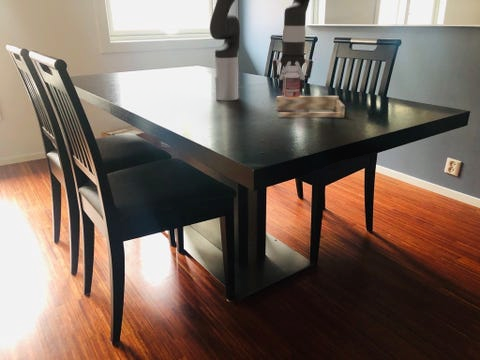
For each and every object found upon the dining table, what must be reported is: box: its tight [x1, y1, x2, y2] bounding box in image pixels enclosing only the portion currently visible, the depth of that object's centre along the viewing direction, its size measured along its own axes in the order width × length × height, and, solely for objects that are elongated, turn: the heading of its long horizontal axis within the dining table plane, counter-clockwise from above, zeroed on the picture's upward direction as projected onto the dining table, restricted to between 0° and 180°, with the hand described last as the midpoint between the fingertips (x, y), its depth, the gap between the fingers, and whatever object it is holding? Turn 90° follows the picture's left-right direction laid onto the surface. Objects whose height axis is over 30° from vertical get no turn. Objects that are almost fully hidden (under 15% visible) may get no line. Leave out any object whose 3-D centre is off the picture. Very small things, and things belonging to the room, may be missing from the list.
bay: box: [275, 95, 346, 118], centre depth 139 cm, size 23×13×5 cm, turn 88°
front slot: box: [307, 110, 334, 112], centre depth 140 cm, size 9×9×1 cm
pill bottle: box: [281, 66, 301, 99], centre depth 137 cm, size 6×6×11 cm
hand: (291, 90), depth 138 cm, fingers closed on pill bottle, 6 cm apart
